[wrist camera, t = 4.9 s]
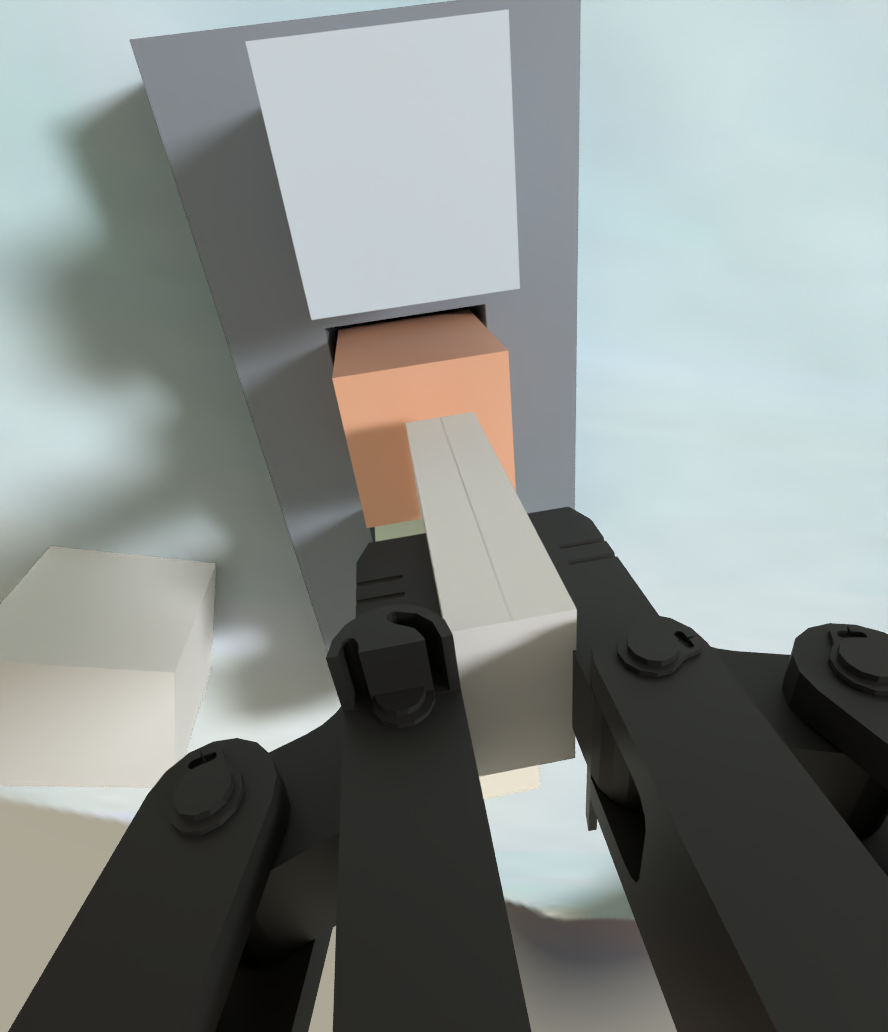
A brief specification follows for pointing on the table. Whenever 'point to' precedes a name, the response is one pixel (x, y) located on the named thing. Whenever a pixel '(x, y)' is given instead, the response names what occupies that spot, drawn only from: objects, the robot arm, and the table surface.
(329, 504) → the key panel
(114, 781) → the pale grey cube
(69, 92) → the table surface
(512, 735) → the robot arm
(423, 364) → the key terracotta
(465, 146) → the key bluegrey
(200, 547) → the table surface
